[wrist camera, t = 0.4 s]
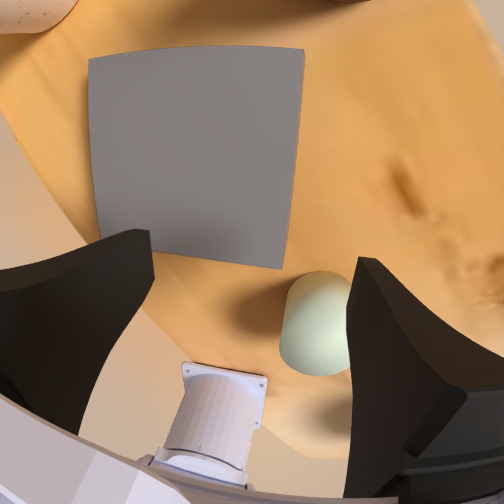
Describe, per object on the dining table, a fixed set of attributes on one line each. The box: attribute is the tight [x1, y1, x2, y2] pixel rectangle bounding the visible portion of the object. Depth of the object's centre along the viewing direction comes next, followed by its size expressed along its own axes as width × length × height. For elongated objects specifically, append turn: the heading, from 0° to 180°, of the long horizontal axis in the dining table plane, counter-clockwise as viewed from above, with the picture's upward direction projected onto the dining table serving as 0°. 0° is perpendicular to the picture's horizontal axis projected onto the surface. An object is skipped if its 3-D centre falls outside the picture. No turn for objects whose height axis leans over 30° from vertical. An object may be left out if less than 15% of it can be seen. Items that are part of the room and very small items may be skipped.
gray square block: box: [88, 46, 305, 270], centre depth 18 cm, size 12×12×3 cm
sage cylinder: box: [279, 271, 352, 376], centre depth 21 cm, size 5×5×5 cm
